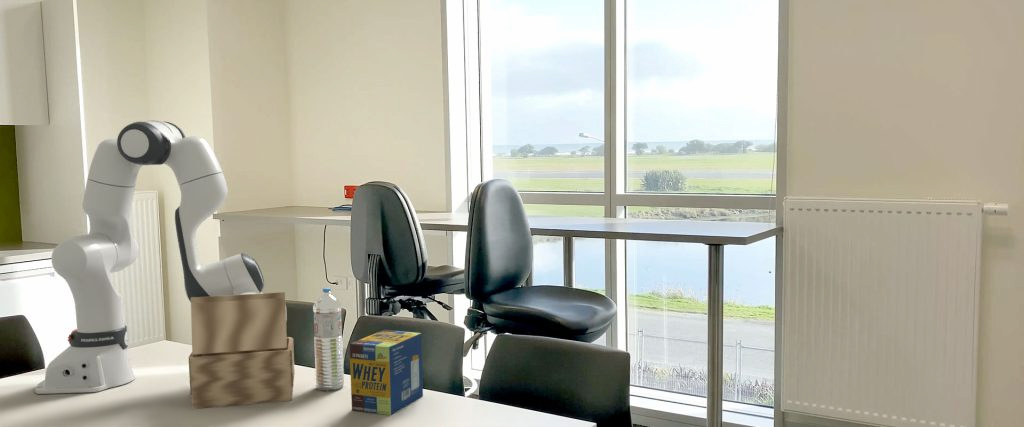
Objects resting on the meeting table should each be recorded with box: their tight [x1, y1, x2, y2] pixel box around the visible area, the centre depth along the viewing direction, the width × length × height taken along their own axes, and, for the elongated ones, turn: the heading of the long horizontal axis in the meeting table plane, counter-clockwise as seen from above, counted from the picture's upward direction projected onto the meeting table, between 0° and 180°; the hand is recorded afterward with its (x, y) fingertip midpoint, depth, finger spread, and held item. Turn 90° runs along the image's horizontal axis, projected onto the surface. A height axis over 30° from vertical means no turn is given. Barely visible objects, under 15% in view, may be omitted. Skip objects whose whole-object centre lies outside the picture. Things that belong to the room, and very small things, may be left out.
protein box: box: [349, 329, 424, 416], centre depth 181 cm, size 10×15×16 cm
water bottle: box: [312, 287, 345, 392], centre depth 194 cm, size 7×7×25 cm
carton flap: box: [190, 291, 288, 355], centre depth 182 cm, size 21×13×1 cm
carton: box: [188, 336, 296, 410], centre depth 189 cm, size 23×14×12 cm, turn 104°
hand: (240, 321), depth 183 cm, fingers closed, pressing on carton flap
